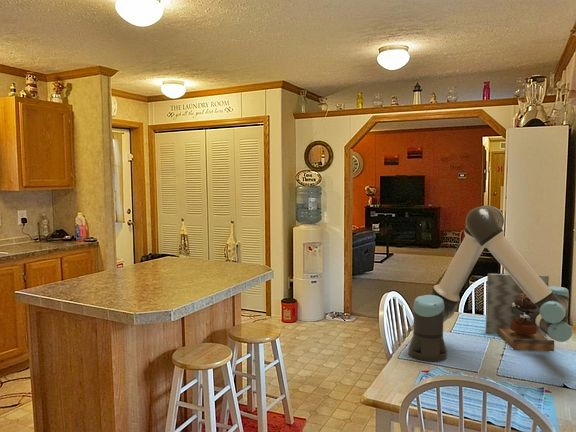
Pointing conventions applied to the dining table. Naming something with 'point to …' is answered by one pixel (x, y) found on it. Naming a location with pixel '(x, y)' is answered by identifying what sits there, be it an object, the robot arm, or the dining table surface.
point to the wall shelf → (510, 314)
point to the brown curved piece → (524, 324)
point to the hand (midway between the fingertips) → (522, 306)
